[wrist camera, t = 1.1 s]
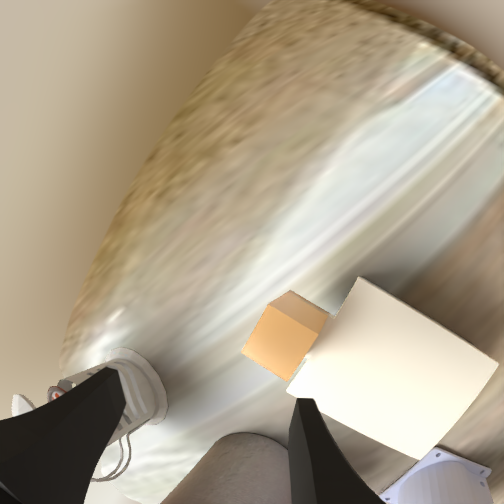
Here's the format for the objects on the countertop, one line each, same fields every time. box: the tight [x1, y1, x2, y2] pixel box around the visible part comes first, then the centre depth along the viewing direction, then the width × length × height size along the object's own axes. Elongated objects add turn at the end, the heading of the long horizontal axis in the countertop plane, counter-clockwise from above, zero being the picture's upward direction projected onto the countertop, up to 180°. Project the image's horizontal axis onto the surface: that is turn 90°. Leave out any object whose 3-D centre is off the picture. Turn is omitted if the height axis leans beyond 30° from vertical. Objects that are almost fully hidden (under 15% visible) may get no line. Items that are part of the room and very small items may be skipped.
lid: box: [241, 277, 499, 460], centre depth 14 cm, size 15×9×4 cm, turn 61°
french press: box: [12, 347, 168, 482], centre depth 17 cm, size 10×12×25 cm
